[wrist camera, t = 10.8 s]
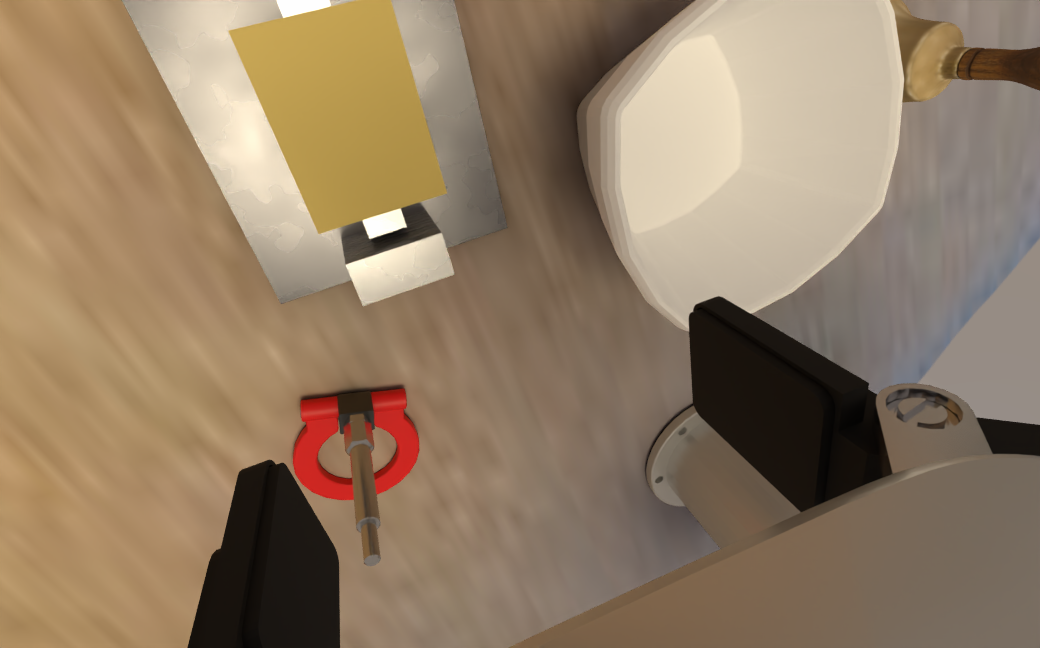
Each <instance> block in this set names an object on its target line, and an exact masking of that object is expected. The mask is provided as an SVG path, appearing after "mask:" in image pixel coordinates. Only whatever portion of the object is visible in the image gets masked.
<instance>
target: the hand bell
mask: <svg viewBox="0 0 1040 648" xmlns="http://www.w3.org/2000/svg"><path fill="white" fill-rule="evenodd" d="M890 2H891V5H892V7H893V10H894V13H895V20H896V27H897V34H898V40H899V47H900V54H901V61H902V68H903V74H904V87H903V99H902V102H921V101H926V100H929V99H931V98H933V97H935V96H937V95H938V94H939V93H941V92H942V91H943V90H944V89H945V88H946V87H947V86H948V84H949V83H950V82H951V80H952V79H962V80H972V79H974V80H1007V81H1013V82H1017V83H1021V84H1024V85H1026V86H1029V87H1031V88H1034V89H1037V90H1040V47H1037V48H1032V49H1024V50H1007V49H984V48H971V47H964V39H963V35H962V32H961V30H960V29H959V28H958V27H957V26H956V25H955V24H952V23H949V22H939V21H930V20H924V19H920V18H916V17H914V16H912V15H911V13H910V11H909V10H908V8H907V6H906V5H905V4H904V3H903V1H901V0H890Z"/></svg>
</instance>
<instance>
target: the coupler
mask: <svg viewBox="0 0 1040 648" xmlns="http://www.w3.org/2000/svg"><path fill="white" fill-rule="evenodd" d="M351 1H356V0H122V2H123V3H124V5H125V7H126V9H127V11H128V13H129V15H130V17H131V19H132V21H133V23H134V24H135V26H136V28H137V30H138V32H139V34H140V36H141V38H142V40H143V42H144V43H145V45H146V47H147V49H148V51H149V53H150V55H151V57H152V59H153V61H154V63H155V64H156V66H157V68H158V70H159V72H160V74H161V76H162V78H163V80H164V82H165V84H166V85H167V87H168V89H169V91H170V93H171V95H172V97H173V99H174V101H175V103H176V105H177V106H178V108H179V110H180V112H181V114H182V116H183V118H184V120H185V122H186V124H187V125H188V127H189V129H190V131H191V133H192V135H193V137H194V139H195V141H196V143H197V145H198V146H199V148H200V150H201V152H202V154H203V156H204V158H205V160H206V162H207V164H208V166H209V167H210V169H211V171H212V173H213V175H214V177H215V179H216V181H217V183H218V185H219V187H220V188H221V190H222V192H223V194H224V196H225V198H226V200H227V202H228V204H229V206H230V208H231V209H232V211H233V213H234V215H235V217H236V219H237V221H238V223H239V225H240V227H241V228H242V230H243V232H244V234H245V236H246V238H247V240H248V242H249V244H250V246H251V248H252V249H253V251H254V253H255V255H256V257H257V259H258V261H259V263H260V265H261V267H262V269H263V270H264V272H265V274H266V276H267V278H268V280H269V282H270V284H271V286H272V288H273V290H274V291H275V293H276V295H277V297H278V299H279V301H280V303H281V304H282V303H285V302H288V301H291V300H294V299H297V298H300V297H303V296H306V295H309V294H312V293H315V292H318V291H321V290H324V289H327V288H330V287H333V286H336V285H339V284H342V283H345V282H348V281H351V280H352V281H353V284H354V286H355V288H356V291H357V293H358V295H359V298H360V300H361V302H362V305H363V306H365V305H368V304H371V303H374V302H377V301H379V300H382V299H385V298H388V297H391V296H394V295H397V294H400V293H402V292H405V291H408V290H411V289H414V288H417V287H420V286H423V285H426V284H428V283H431V282H434V281H437V280H440V279H443V278H446V277H449V276H451V275H454V271H453V267H452V264H451V261H450V258H449V254H448V251H447V248H449V247H452V246H455V245H458V244H461V243H464V242H467V241H470V240H473V239H476V238H479V237H482V236H485V235H488V234H491V233H494V232H496V231H499V230H502V229H505V228H507V224H506V219H505V215H504V211H503V207H502V202H501V198H500V194H499V190H498V185H497V181H496V177H495V173H494V168H493V164H492V160H491V156H490V151H489V147H488V143H487V138H486V134H485V130H484V126H483V121H482V117H481V113H480V109H479V104H478V100H477V96H476V92H475V87H474V83H473V79H472V75H471V70H470V66H469V62H468V58H467V53H466V49H465V45H464V41H463V36H462V32H461V28H460V24H459V19H458V15H457V11H456V6H455V2H454V0H391V2H392V6H393V9H394V12H395V16H396V19H397V23H398V26H399V30H400V33H401V36H402V40H403V43H404V47H405V50H406V54H407V57H408V61H409V64H410V67H411V71H412V74H413V78H414V81H415V85H416V88H417V91H418V95H419V98H420V102H421V105H422V109H423V112H424V115H425V119H426V122H427V126H428V129H429V133H430V136H431V139H432V143H433V146H434V150H435V153H436V157H437V160H438V163H439V167H440V170H441V174H442V177H443V181H444V184H445V187H446V191H447V194H444V195H441V196H437V197H434V198H431V199H428V200H425V201H422V202H418V203H415V204H412V205H409V206H406V207H403V208H400V209H396V210H393V211H390V212H387V213H384V214H381V215H378V216H374V217H371V218H368V219H365V220H362V221H359V222H355V223H352V224H349V225H346V226H343V227H340V228H337V229H333V230H330V231H327V232H324V233H321V234H318V232H317V229H316V227H315V225H314V223H313V220H312V218H311V216H310V214H309V211H308V209H307V207H306V205H305V202H304V200H303V198H302V196H301V194H300V191H299V189H298V187H297V185H296V182H295V180H294V178H293V176H292V173H291V171H290V169H289V167H288V164H287V162H286V160H285V158H284V155H283V153H282V151H281V149H280V146H279V144H278V142H277V140H276V137H275V135H274V133H273V131H272V128H271V126H270V124H269V122H268V119H267V117H266V115H265V113H264V110H263V108H262V106H261V104H260V102H259V99H258V97H257V95H256V93H255V90H254V88H253V86H252V84H251V81H250V79H249V77H248V75H247V72H246V70H245V68H244V66H243V63H242V61H241V59H240V57H239V54H238V52H237V50H236V48H235V45H234V43H233V41H232V39H231V36H230V34H229V32H228V31H229V30H233V29H237V28H241V27H246V26H250V25H254V24H258V23H263V22H267V21H271V20H275V19H279V18H284V17H288V16H292V15H296V14H301V13H305V12H309V11H313V10H318V9H322V8H326V7H330V6H334V5H339V4H343V3H347V2H351Z"/></svg>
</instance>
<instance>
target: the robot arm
mask: <svg viewBox="0 0 1040 648" xmlns="http://www.w3.org/2000/svg"><path fill="white" fill-rule="evenodd" d="M689 337H690V356H691V374H692V393H693V404H694V406H692V407H690V408H689V409H687V410H685V411H684V412H683V413H681V414H680V415H679V416H678V417H676V418H675V419H674V420H673V421H672V422H671V423H670V424H669V425H668V426H667V427H666V428H665V430H664V431H663V432H662V434H661V435H660V436H659V438H658V439H657V441H656V443H655V444H654V446H653V448H652V450H651V453H650V456H649V458H648V462H647V468H646V475H647V481H648V484H649V487H650V488H651V489H652V491H653V492H654V494H655V495H656V496H657V497H658V498H659V499H660V500H661V501H662V502H664V503H666V504H668V505H673V506H686V507H687V508H688V510H689V511H690V512H691V513H692V515H693V516H694V517H695V518H696V519H697V521H698V522H699V523H700V524H701V526H702V527H703V528H704V529H705V530H706V532H707V533H708V534H709V535H710V537H711V538H712V539H713V540H714V541H715V543H716V544H717V545H718V546H719V548H720V550H718V551H716V552H713V553H711V554H709V555H707V556H705V557H702V558H700V559H698V560H696V561H694V562H692V563H689V564H687V565H685V566H683V567H681V568H679V569H677V570H674V571H672V572H670V573H668V574H666V575H664V576H661V577H659V578H657V579H655V580H653V581H651V582H648V583H646V584H644V585H642V586H640V587H638V588H635V589H633V590H631V591H629V592H627V593H625V594H622V595H620V596H618V597H616V598H614V599H612V600H610V601H607V602H605V603H603V604H601V605H599V606H597V607H594V608H592V609H590V610H588V611H586V612H584V613H582V614H579V615H577V616H575V617H573V618H571V619H569V620H566V621H564V622H562V623H560V624H558V625H556V626H554V627H551V628H549V629H547V630H545V631H543V632H541V633H539V634H537V635H534V636H532V637H530V638H528V639H526V640H524V641H522V642H520V643H517V644H515V645H513V646H511V647H509V648H1040V425H1035V424H1026V423H1018V422H1010V421H1001V420H993V419H984V418H976V416H975V414H974V412H973V410H972V409H971V408H970V406H969V405H968V404H967V403H966V402H965V401H964V400H962V399H961V398H959V397H958V396H957V395H955V394H952V393H950V392H948V391H946V390H943V389H940V388H937V387H933V386H930V385H923V384H916V383H907V384H897V385H892V386H889V387H887V388H885V389H883V390H881V391H880V393H879V394H878V395H877V394H875V393H873V392H872V391H870V390H868V386H869V383H868V382H866V381H864V380H862V379H861V378H859V377H857V376H856V375H854V374H852V373H851V372H849V371H847V370H845V369H844V368H842V367H840V366H839V365H837V364H835V363H834V362H832V361H830V360H828V359H827V358H825V357H823V356H822V355H820V354H818V353H817V352H815V351H813V350H811V349H810V348H808V347H806V346H805V345H803V344H801V343H800V342H798V341H796V340H794V339H793V338H791V337H789V336H788V335H786V334H784V333H783V332H781V331H779V330H777V329H776V328H774V327H772V326H771V325H769V324H767V323H766V322H764V321H762V320H760V319H759V318H757V317H755V316H754V315H752V314H750V313H749V312H747V311H745V310H743V309H742V308H740V307H738V306H737V305H735V304H733V303H732V302H730V301H728V300H726V299H725V298H723V297H720V296H717V297H714V298H711V299H709V300H706V301H703V302H700V303H698V304H696V305H695V306H694V309H693V312H691V313H690V314H689ZM188 648H340V609H339V560H338V555H337V552H336V549H335V547H334V545H333V543H332V542H331V540H330V538H329V536H328V535H327V533H326V531H325V530H324V528H323V526H322V525H321V523H320V521H319V520H318V518H317V516H316V515H315V513H314V511H313V510H312V508H311V506H310V504H309V503H308V501H307V499H306V498H305V496H304V494H303V493H302V491H301V489H300V488H299V486H298V484H297V483H296V481H295V479H294V477H293V476H292V474H291V472H290V471H289V469H288V467H287V466H286V465H285V464H284V463H280V464H277V465H276V464H275V463H274V462H273V461H272V460H267V461H264V462H262V463H259V464H256V465H253V466H251V467H248V468H245V469H242V470H241V471H240V472H239V474H238V478H237V482H236V486H235V491H234V495H233V499H232V503H231V508H230V512H229V516H228V520H227V525H226V529H225V533H224V537H223V542H222V546H221V549H218V550H216V551H215V552H214V553H213V554H212V556H211V559H210V561H209V565H208V569H207V573H206V577H205V581H204V585H203V588H202V592H201V596H200V600H199V604H198V608H197V612H196V616H195V620H194V624H193V628H192V632H191V636H190V640H189V644H188Z"/></svg>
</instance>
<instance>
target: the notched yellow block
mask: <svg viewBox="0 0 1040 648" xmlns="http://www.w3.org/2000/svg"><path fill="white" fill-rule="evenodd" d="M228 32H229V34H230V36H231V39H232V41H233V43H234V45H235V48H236V50H237V52H238V54H239V57H240V59H241V61H242V63H243V66H244V68H245V70H246V72H247V75H248V77H249V79H250V81H251V84H252V86H253V88H254V90H255V93H256V95H257V97H258V99H259V102H260V104H261V106H262V108H263V110H264V113H265V115H266V117H267V119H268V122H269V124H270V126H271V128H272V131H273V133H274V135H275V137H276V140H277V142H278V144H279V146H280V149H281V151H282V153H283V155H284V158H285V160H286V162H287V164H288V167H289V169H290V171H291V173H292V176H293V178H294V180H295V182H296V185H297V187H298V189H299V191H300V194H301V196H302V198H303V200H304V202H305V205H306V207H307V209H308V211H309V214H310V216H311V218H312V220H313V223H314V225H315V227H316V229H317V232H318V234H321V233H324V232H327V231H330V230H333V229H337V228H340V227H343V226H346V225H349V224H352V223H355V222H359V221H362V220H365V219H368V218H371V217H374V216H378V215H381V214H384V213H387V212H390V211H393V210H396V209H400V208H403V207H406V206H409V205H412V204H415V203H418V202H422V201H425V200H428V199H431V198H434V197H437V196H441V195H444V194H447V191H446V187H445V184H444V181H443V177H442V174H441V170H440V167H439V163H438V160H437V157H436V153H435V150H434V146H433V143H432V139H431V136H430V133H429V129H428V126H427V122H426V119H425V115H424V112H423V109H422V105H421V102H420V98H419V95H418V91H417V88H416V85H415V81H414V78H413V74H412V71H411V67H410V64H409V61H408V57H407V54H406V50H405V47H404V43H403V40H402V36H401V33H400V30H399V26H398V23H397V19H396V16H395V12H394V9H393V6H392V2H391V0H356V1H351V2H347V3H343V4H339V5H334V6H330V7H326V8H322V9H318V10H313V11H309V12H305V13H301V14H296V15H292V16H288V17H284V18H279V19H275V20H271V21H267V22H263V23H258V24H254V25H250V26H246V27H241V28H237V29H233V30H229V31H228Z"/></svg>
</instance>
